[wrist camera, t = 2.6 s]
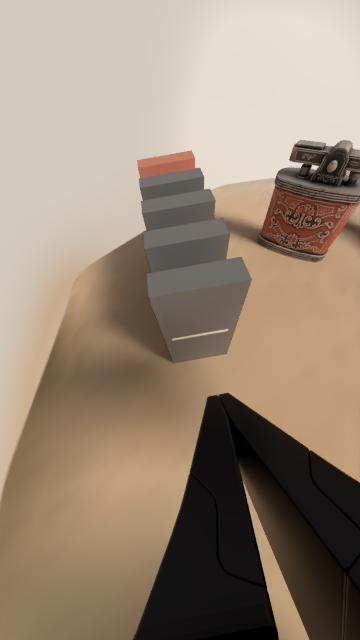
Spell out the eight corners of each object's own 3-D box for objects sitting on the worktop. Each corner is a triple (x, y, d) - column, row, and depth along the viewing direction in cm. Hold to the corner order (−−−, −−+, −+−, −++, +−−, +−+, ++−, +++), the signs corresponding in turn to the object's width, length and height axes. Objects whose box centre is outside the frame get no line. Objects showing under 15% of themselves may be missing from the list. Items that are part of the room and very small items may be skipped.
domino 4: (216, 321, 19) (230, 233, 11) (168, 329, 19) (144, 248, 11) (212, 308, 20) (222, 217, 12) (166, 316, 20) (142, 231, 12)
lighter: (327, 249, 23) (403, 141, 14) (319, 266, 22) (396, 160, 13) (263, 230, 26) (295, 130, 17) (252, 244, 25) (281, 145, 16)
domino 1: (196, 251, 25) (194, 157, 16) (159, 258, 25) (138, 168, 16) (194, 244, 26) (191, 150, 17) (158, 250, 26) (137, 160, 17)
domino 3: (209, 293, 21) (215, 200, 13) (165, 301, 21) (142, 213, 13) (206, 282, 22) (209, 188, 14) (163, 290, 22) (141, 200, 14)
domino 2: (202, 271, 23) (204, 176, 15) (162, 278, 23) (139, 188, 15) (199, 262, 24) (199, 167, 15) (161, 269, 24) (139, 178, 15)
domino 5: (226, 353, 18) (251, 279, 9) (173, 363, 18) (148, 297, 9) (222, 338, 18) (241, 256, 10) (171, 347, 18) (146, 273, 10)
